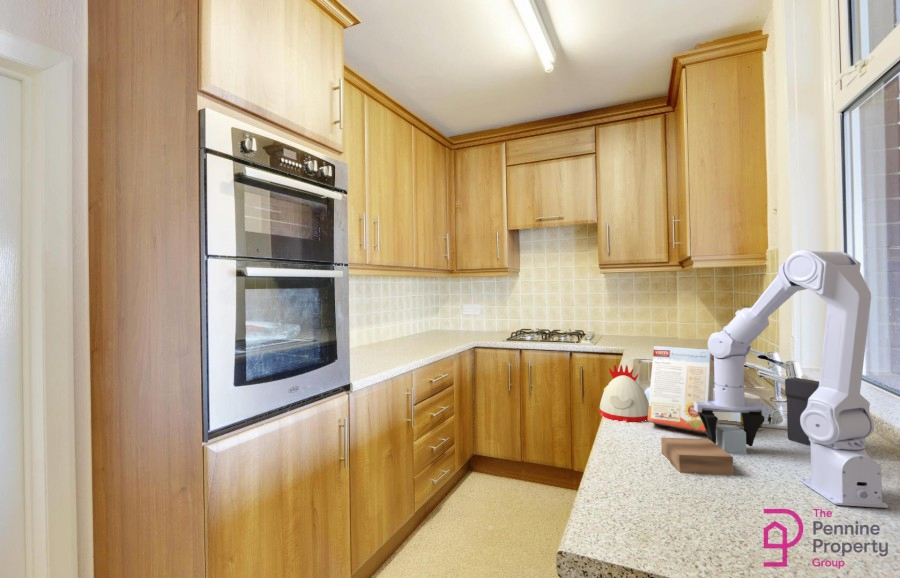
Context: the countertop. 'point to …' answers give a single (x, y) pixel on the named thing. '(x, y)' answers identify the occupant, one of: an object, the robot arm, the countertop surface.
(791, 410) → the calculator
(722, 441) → the slate block
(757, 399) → the supplement bottle
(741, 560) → the countertop surface
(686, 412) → the cracker box
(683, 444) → the walnut block
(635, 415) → the kitchen timer
